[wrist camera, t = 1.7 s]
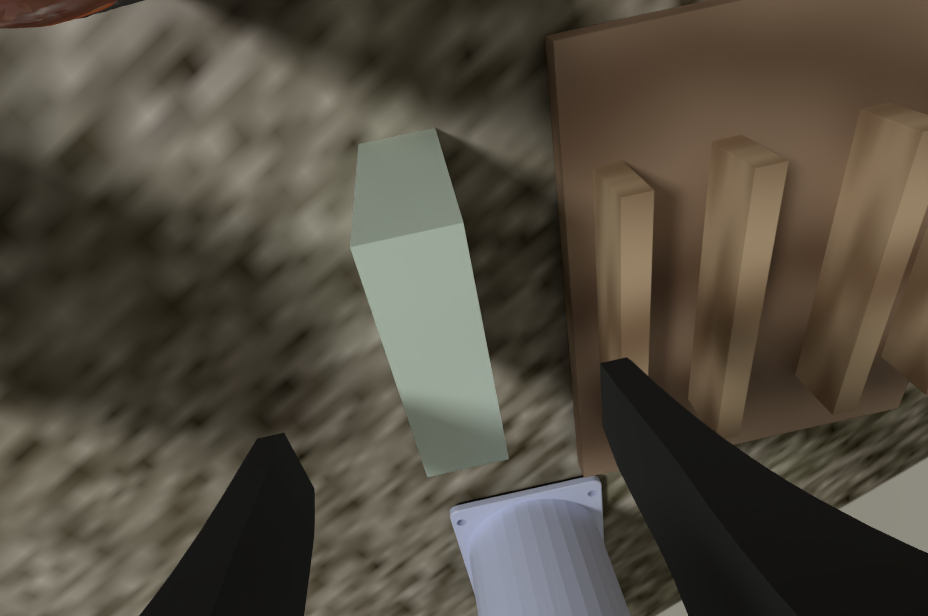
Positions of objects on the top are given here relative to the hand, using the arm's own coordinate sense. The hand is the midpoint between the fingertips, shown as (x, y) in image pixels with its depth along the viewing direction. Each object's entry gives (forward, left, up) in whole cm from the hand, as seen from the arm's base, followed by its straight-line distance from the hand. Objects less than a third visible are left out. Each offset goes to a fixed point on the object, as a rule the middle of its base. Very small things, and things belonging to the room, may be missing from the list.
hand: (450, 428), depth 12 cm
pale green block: (0, 0, -9) cm, 9 cm away
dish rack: (-4, -13, -9) cm, 16 cm away
